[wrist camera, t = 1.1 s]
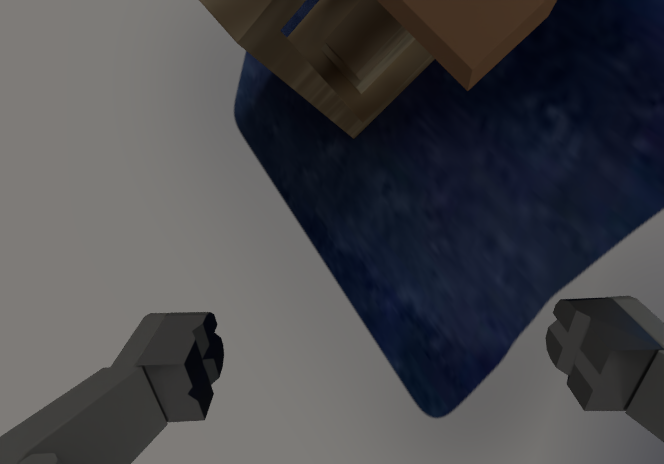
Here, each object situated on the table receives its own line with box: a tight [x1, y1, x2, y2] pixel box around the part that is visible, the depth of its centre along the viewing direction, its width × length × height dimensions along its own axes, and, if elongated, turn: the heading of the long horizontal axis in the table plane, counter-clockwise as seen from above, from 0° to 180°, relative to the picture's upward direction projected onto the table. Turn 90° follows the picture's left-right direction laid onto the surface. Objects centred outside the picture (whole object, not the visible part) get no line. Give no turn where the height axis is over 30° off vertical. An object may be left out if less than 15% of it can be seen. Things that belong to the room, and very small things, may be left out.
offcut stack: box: [321, 0, 415, 94], centre depth 38 cm, size 6×8×4 cm
